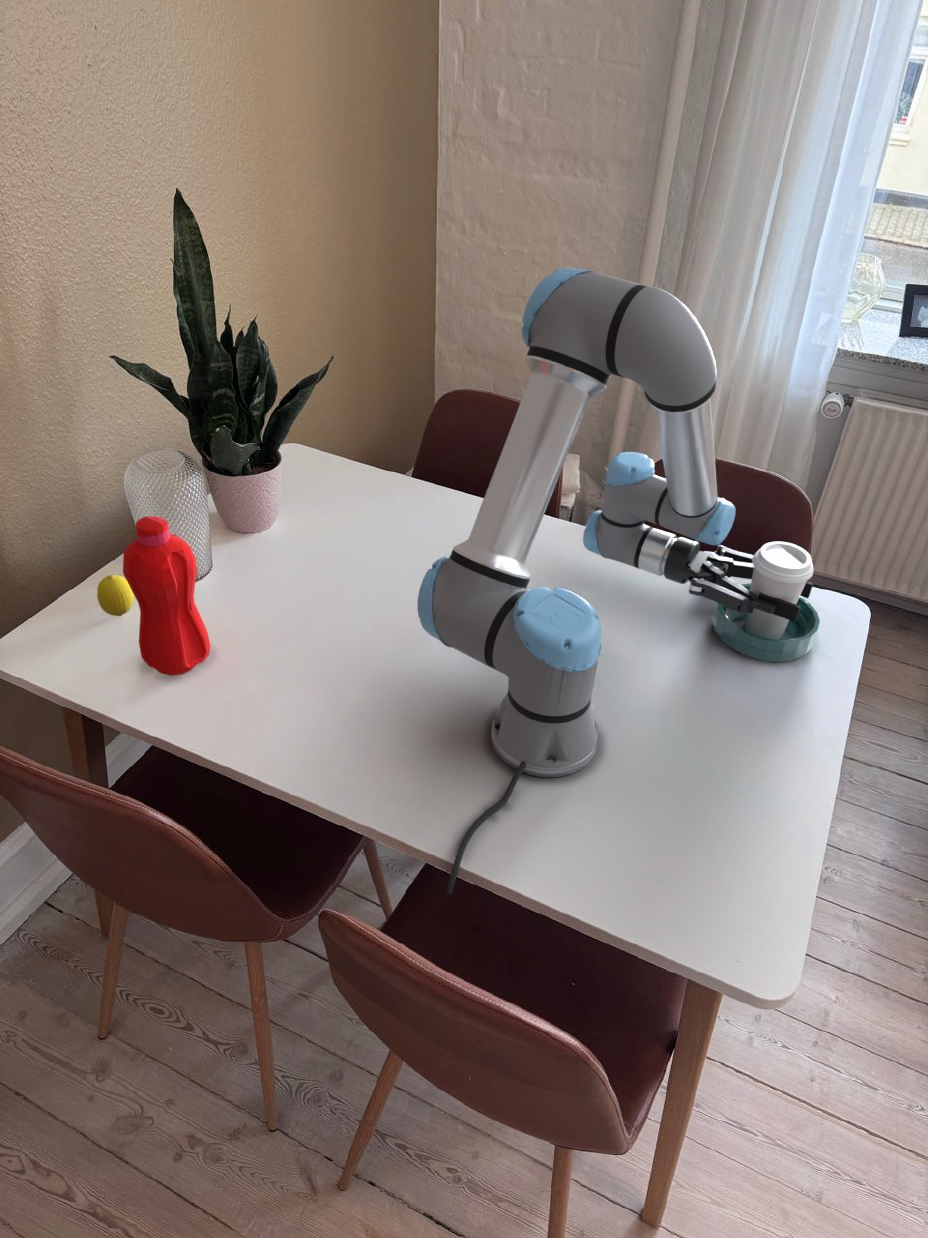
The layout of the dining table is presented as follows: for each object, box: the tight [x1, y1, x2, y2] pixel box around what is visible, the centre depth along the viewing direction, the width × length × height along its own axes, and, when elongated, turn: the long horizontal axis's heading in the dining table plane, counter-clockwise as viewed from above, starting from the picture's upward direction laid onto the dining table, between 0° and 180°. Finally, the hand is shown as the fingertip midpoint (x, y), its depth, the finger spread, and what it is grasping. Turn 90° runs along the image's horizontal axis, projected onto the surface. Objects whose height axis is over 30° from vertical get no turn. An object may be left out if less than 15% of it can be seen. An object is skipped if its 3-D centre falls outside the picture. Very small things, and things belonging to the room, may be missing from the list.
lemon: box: [96, 574, 135, 617], centre depth 151 cm, size 6×6×8 cm
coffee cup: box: [744, 541, 814, 640], centre depth 152 cm, size 10×10×15 cm
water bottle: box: [122, 515, 211, 677], centre depth 139 cm, size 9×11×25 cm
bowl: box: [712, 582, 821, 662], centre depth 155 cm, size 16×16×4 cm
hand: (804, 602), depth 149 cm, fingers closed on coffee cup, 7 cm apart
